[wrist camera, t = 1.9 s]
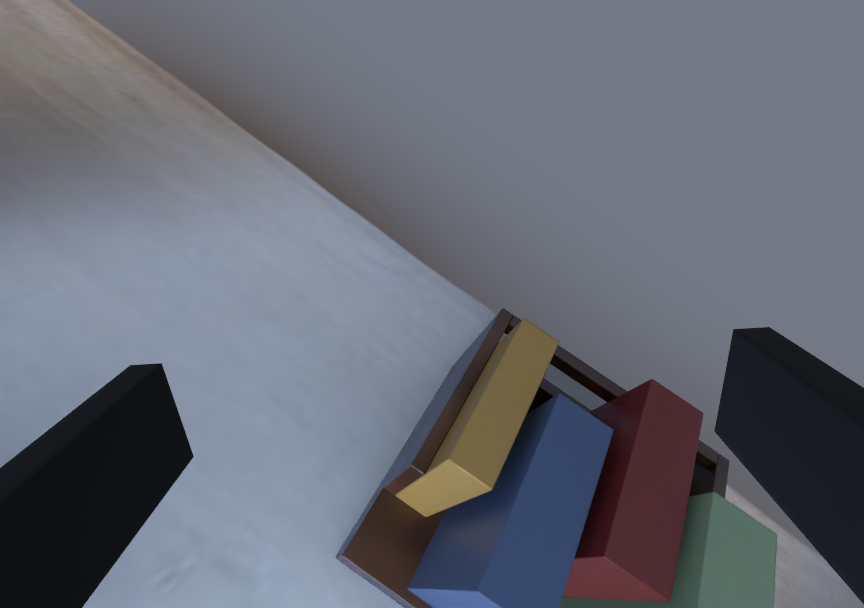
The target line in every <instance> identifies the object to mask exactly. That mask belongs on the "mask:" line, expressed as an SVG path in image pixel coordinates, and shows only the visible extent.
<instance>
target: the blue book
mask: <svg viewBox="0 0 864 608" xmlns="http://www.w3.org/2000/svg"><path fill="white" fill-rule="evenodd" d="M613 431H614V430H613V429H612V428H610V427H609V426H607V425H606V424H604V423H603V422H601V421H600V420H598V419H597V418H596V417H594V416H593V415H591V414H590V413H588V412H587V411H585V410H584V409H582V408H581V407H579V406H578V405H576V404H575V403H573V402H572V401H571V400H569V399H568V398H566V397H565V396H563V395H562V394H560V393H559V394H558V395H556V396H554V397H553V398H551V399H550V400H548V401H547V402H545V403H544V404H542V405H541V406H539V407H537V408H536V409H534V410H533V411H531V412H530V413H528V414H527V415H526V417H525V419H524V421H523V423H522V426H521V428H520V430H519V432H518V434H517V437H516V439H515V441H514V443H513V446H512V448H511V450H510V452H509V454H508V457H507V459H506V461H505V463H504V465H503V468H502V470H501V472H500V474H499V476H498V479H497V481H496V483H495V485H494V488H493V489H492V490H491V491H489V492H486V493H484V494H481V495H479V496H477V497H474V498H472V499H469V500H467V501H464V502H462V503H459V504H457V505H455V506H452V507H450V508H447V509H446V511H445V513H444V515H443V517H442V519H441V521H440V523H439V525H438V527H437V529H436V531H435V533H434V535H433V537H432V539H431V541H430V543H429V545H428V547H427V549H426V551H425V553H424V555H423V557H422V559H421V561H420V563H419V565H418V567H417V569H416V571H415V573H414V575H413V577H412V579H411V581H410V583H409V585H408V587H407V589H408V590H409V591H411V592H412V593H413V594H415V595H416V596H418V597H419V598H420V599H422V600H423V601H425V602H426V603H427V604H429V605H430V606H432V607H433V608H559V607H560V603H561V600H562V597H563V594H564V590H565V587H566V584H567V581H568V577H569V574H570V571H571V568H572V564H573V561H574V558H575V555H576V551H577V548H578V545H579V542H580V538H581V535H582V532H583V529H584V525H585V522H586V519H587V515H588V512H589V509H590V506H591V502H592V499H593V496H594V493H595V489H596V486H597V483H598V480H599V476H600V473H601V470H602V467H603V463H604V460H605V457H606V454H607V450H608V447H609V444H610V441H611V437H612V434H613Z"/></svg>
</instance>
